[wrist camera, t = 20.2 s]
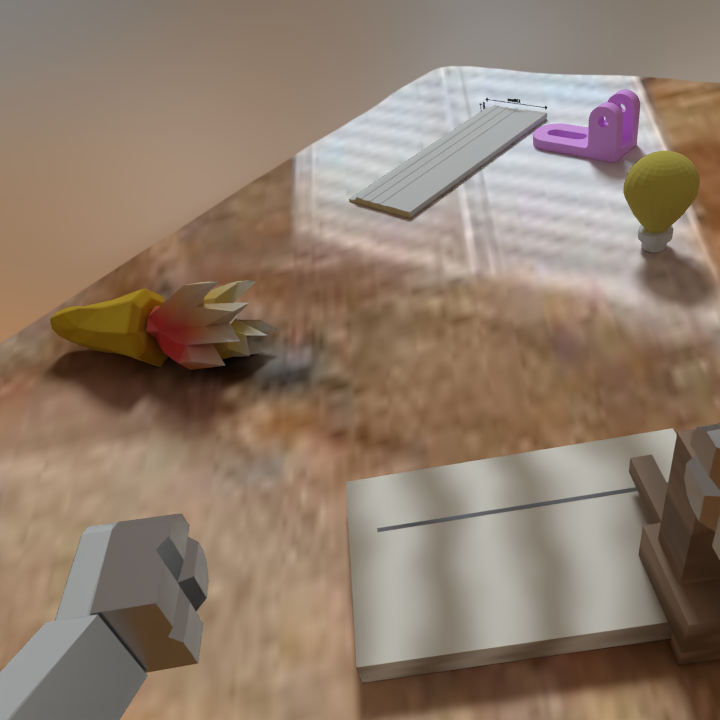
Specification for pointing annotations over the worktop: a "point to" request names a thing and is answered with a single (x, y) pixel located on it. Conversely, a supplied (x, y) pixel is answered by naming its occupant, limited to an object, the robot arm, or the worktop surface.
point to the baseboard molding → (448, 160)
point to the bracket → (596, 131)
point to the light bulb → (660, 195)
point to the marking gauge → (679, 556)
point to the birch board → (503, 559)
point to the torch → (167, 325)
